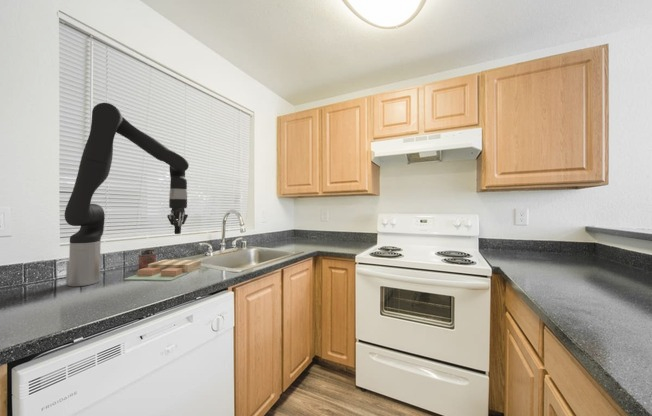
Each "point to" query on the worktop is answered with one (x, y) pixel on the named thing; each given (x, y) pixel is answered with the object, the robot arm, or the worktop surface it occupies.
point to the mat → (155, 277)
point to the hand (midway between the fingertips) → (177, 233)
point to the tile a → (148, 271)
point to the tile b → (171, 272)
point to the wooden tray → (177, 265)
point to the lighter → (146, 258)
